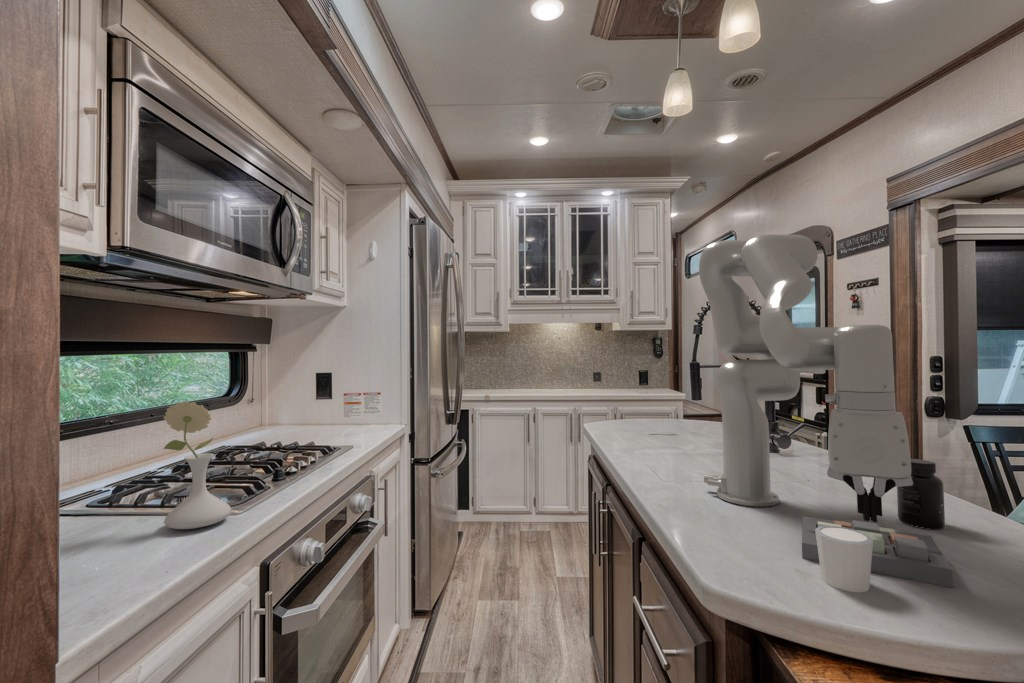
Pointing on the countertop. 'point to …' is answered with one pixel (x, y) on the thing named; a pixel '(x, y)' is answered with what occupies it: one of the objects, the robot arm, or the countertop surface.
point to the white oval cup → (844, 557)
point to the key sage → (876, 542)
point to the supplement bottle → (922, 497)
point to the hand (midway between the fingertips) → (869, 518)
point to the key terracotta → (899, 536)
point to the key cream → (829, 524)
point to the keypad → (891, 552)
